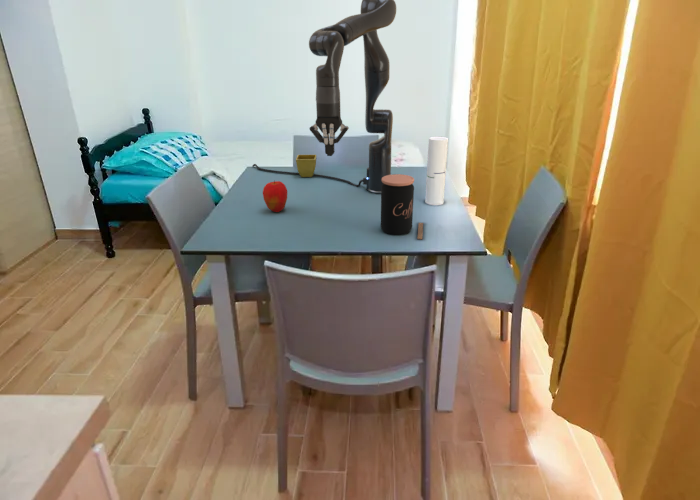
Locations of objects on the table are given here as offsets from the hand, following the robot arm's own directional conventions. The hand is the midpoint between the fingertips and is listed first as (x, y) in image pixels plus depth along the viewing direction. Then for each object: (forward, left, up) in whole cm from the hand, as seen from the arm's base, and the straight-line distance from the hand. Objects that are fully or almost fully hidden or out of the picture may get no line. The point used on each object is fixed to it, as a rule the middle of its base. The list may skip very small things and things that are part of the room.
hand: (329, 155), depth 160 cm
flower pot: (-49, +42, -25) cm, 69 cm away
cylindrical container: (+17, +43, -25) cm, 53 cm away
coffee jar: (+20, +10, -25) cm, 34 cm away
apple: (-27, 0, -25) cm, 37 cm away
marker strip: (+27, +14, -25) cm, 40 cm away
